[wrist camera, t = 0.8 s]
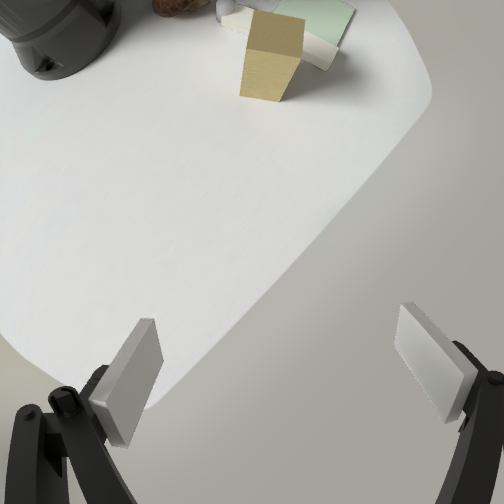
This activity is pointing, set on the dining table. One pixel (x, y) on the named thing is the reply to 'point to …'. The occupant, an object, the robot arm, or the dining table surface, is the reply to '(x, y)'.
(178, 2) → the mushroom
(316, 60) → the door edge
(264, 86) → the block
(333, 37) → the plate
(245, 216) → the dining table surface
